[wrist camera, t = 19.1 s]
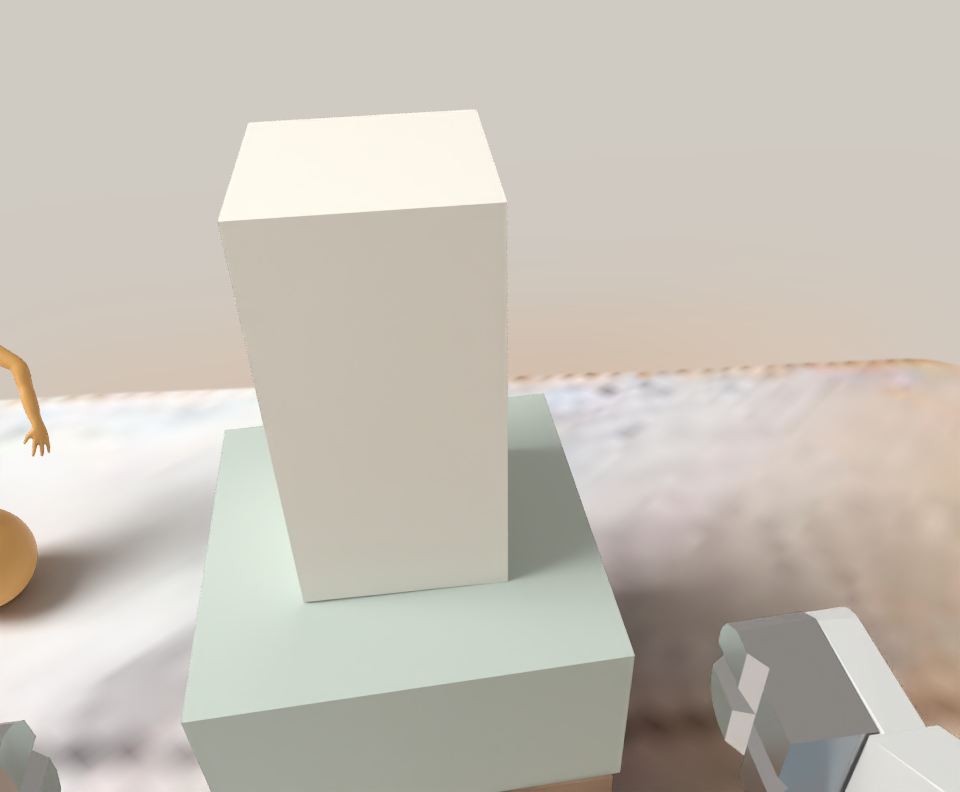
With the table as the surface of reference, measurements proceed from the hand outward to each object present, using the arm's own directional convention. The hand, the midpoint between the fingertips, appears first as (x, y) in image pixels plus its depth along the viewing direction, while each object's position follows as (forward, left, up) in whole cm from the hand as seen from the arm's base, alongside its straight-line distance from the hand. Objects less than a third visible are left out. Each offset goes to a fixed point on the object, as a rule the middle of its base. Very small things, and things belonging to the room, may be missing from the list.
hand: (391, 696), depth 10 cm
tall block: (0, +10, -7) cm, 13 cm away
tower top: (0, +10, -12) cm, 16 cm away
